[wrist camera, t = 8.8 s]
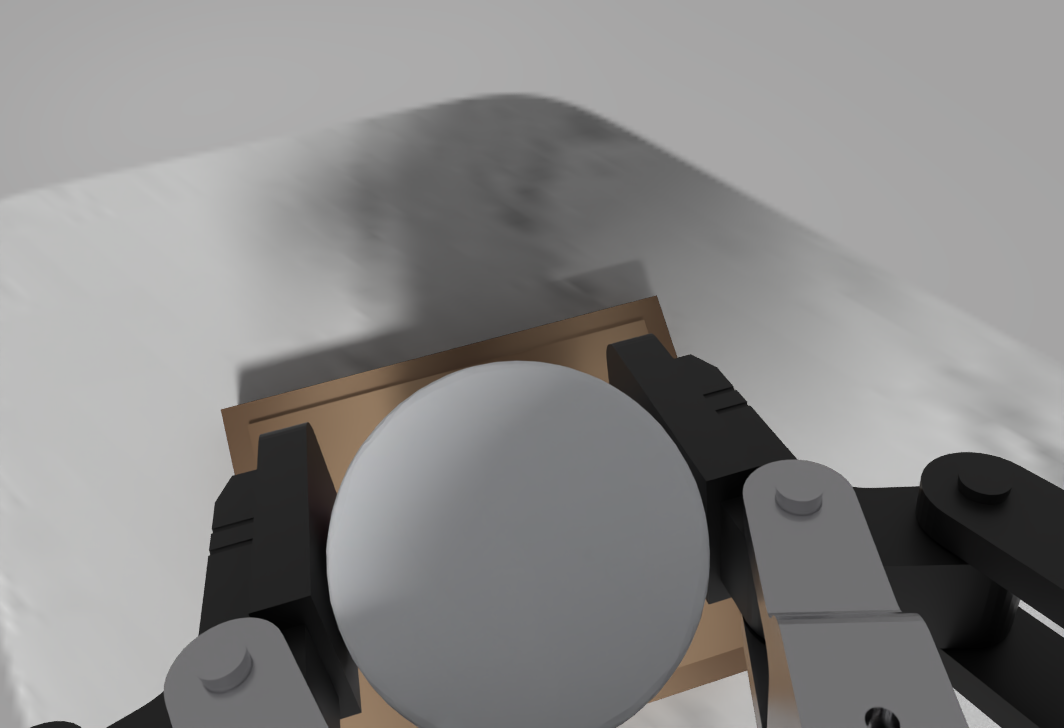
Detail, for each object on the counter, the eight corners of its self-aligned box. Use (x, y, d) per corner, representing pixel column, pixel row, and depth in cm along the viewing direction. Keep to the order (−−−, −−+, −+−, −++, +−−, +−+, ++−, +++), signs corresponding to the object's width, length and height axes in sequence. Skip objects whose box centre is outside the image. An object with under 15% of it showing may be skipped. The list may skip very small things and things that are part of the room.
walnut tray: (645, 310, 23) (657, 293, 22) (756, 652, 21) (779, 661, 20) (237, 418, 22) (219, 408, 20) (319, 795, 20) (306, 818, 18)
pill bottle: (375, 435, 16) (287, 324, 8) (600, 425, 17) (726, 312, 9) (377, 677, 15) (280, 824, 7) (617, 660, 16) (780, 780, 8)
